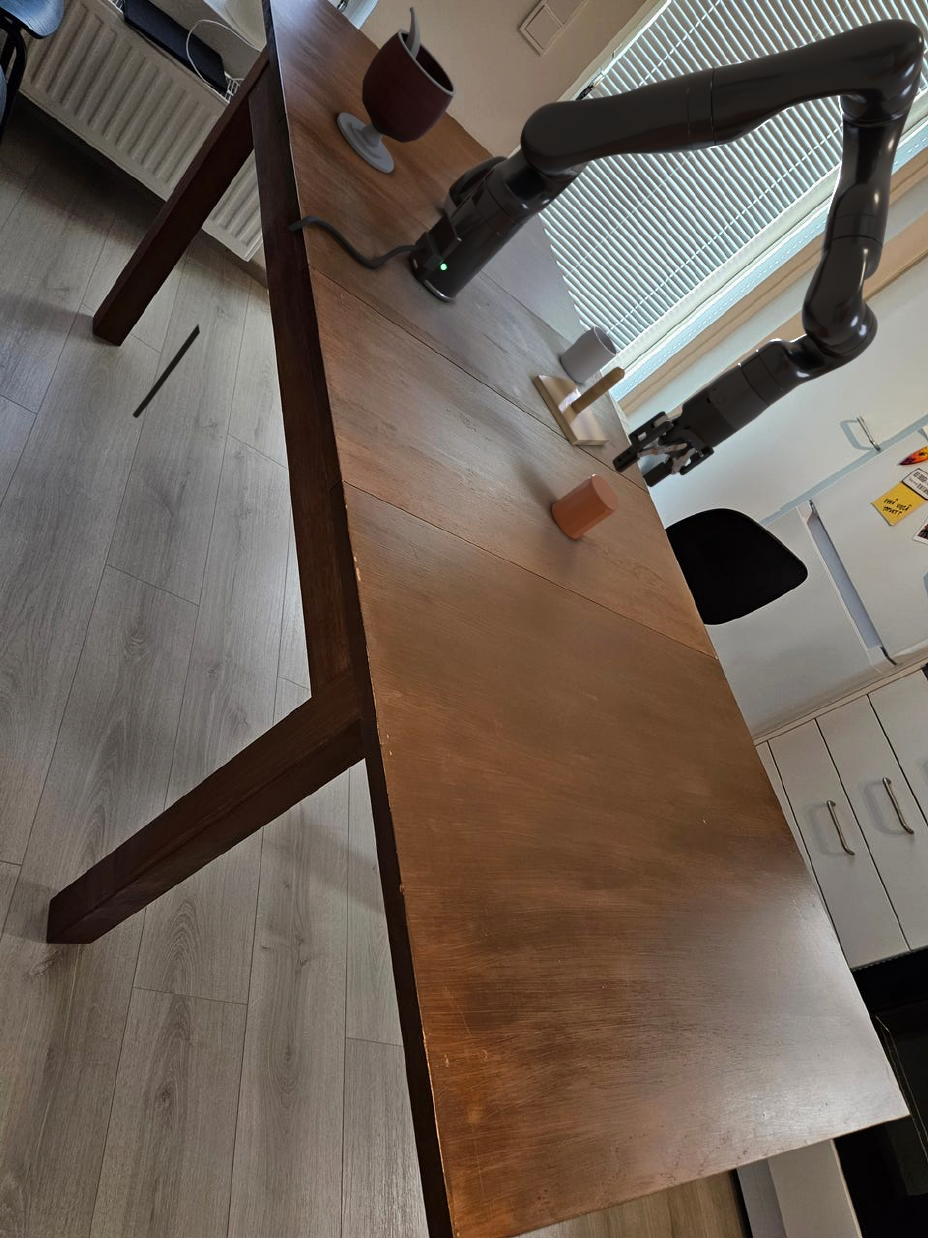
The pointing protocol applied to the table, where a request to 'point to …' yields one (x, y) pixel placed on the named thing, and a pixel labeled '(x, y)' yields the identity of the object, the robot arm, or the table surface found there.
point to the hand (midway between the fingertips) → (631, 474)
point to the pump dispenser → (469, 183)
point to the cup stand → (577, 406)
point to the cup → (588, 354)
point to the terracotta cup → (585, 506)
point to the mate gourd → (398, 97)
